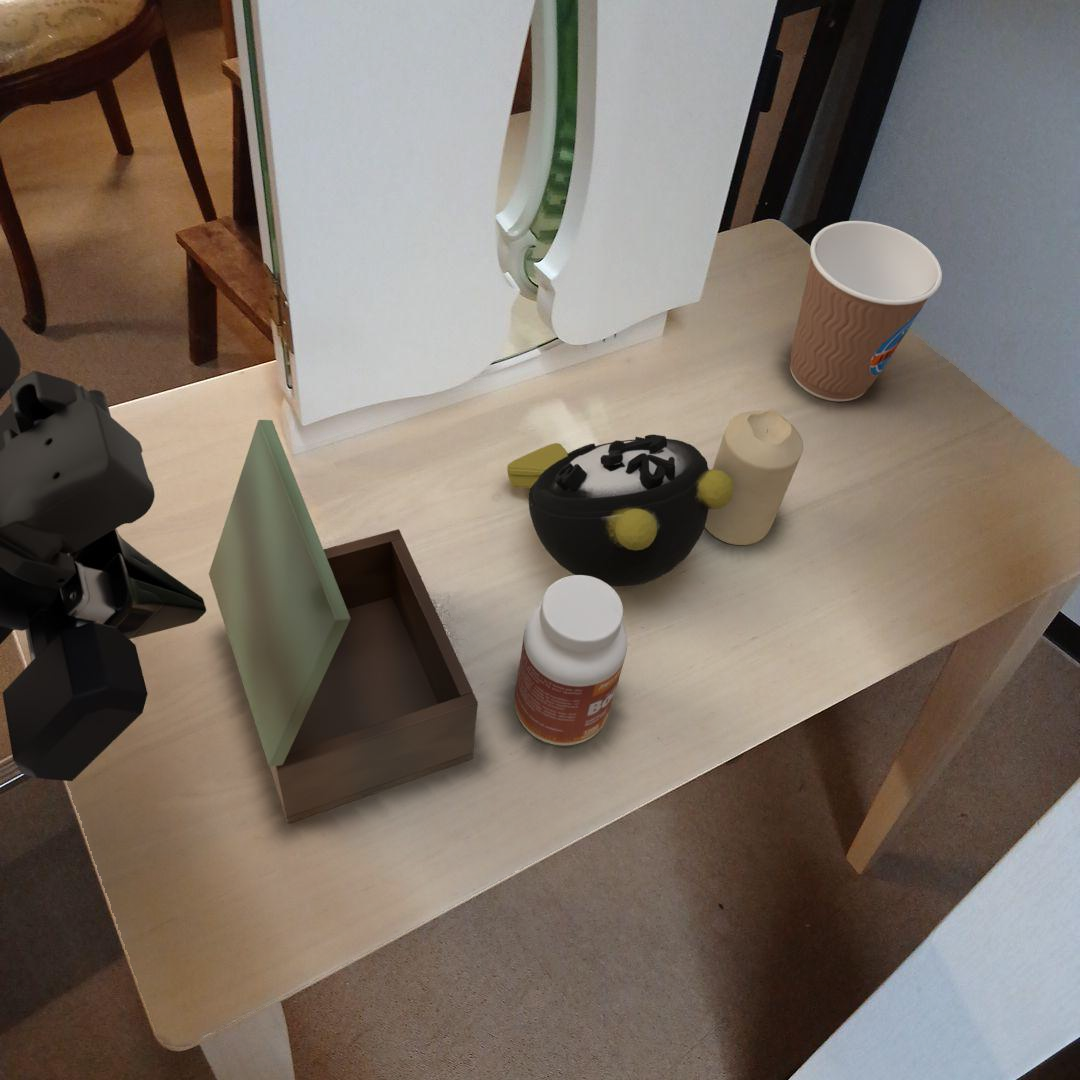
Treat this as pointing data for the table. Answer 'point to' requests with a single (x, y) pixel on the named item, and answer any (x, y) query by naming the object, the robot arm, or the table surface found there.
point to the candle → (754, 474)
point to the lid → (276, 594)
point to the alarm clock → (620, 505)
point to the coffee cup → (858, 305)
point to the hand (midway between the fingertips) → (200, 610)
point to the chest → (379, 688)
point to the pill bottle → (571, 661)
